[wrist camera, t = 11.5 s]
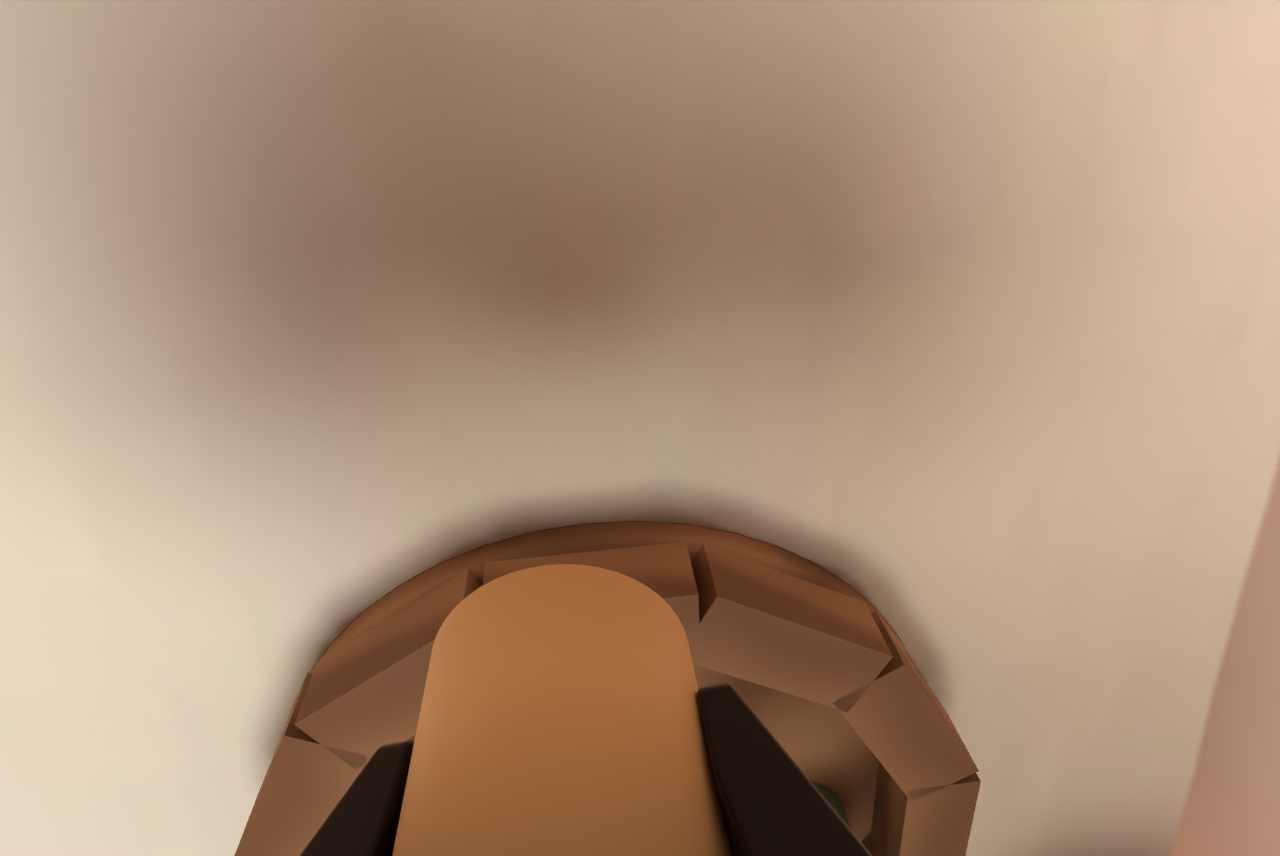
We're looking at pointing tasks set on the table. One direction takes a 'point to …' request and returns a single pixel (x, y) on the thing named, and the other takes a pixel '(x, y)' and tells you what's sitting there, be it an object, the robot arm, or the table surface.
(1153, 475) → the table surface
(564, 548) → the groove tray
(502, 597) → the bead
